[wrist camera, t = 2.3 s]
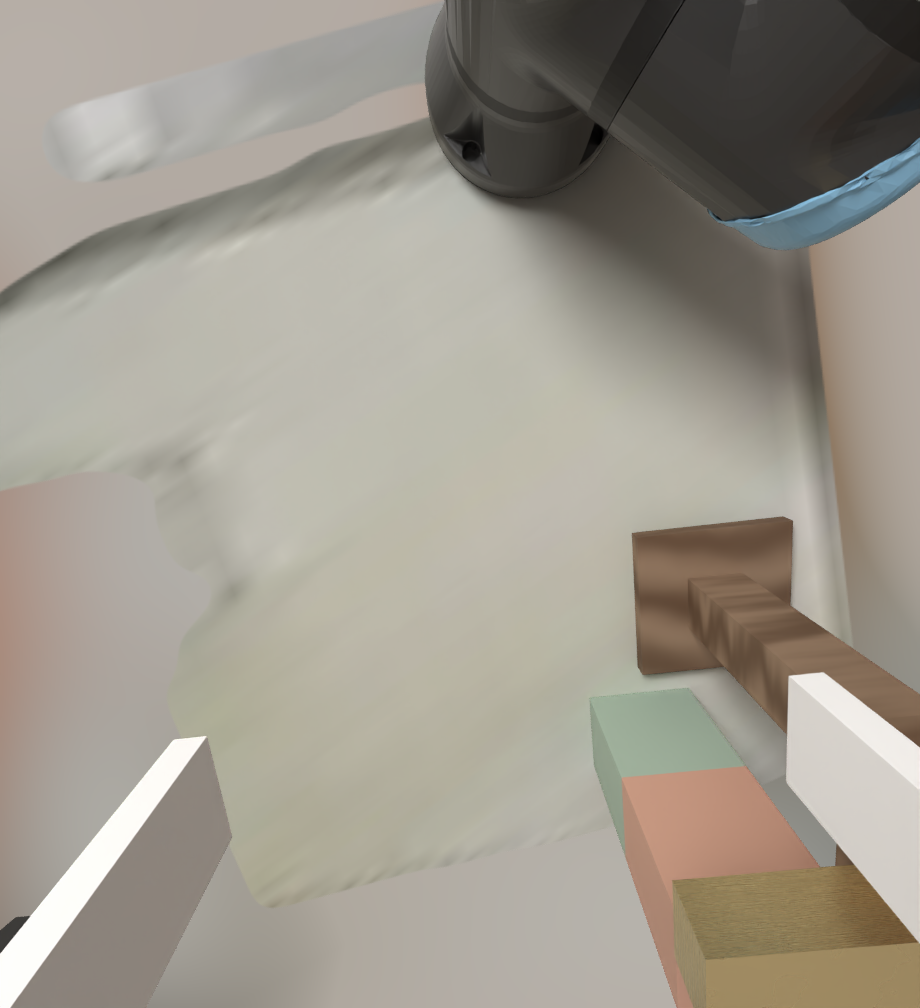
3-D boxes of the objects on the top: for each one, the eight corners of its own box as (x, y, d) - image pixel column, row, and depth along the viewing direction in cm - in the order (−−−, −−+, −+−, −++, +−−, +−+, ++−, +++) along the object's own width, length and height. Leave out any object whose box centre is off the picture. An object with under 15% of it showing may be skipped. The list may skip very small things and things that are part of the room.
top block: (621, 777, 42) (675, 911, 32) (745, 766, 42) (842, 897, 31) (625, 857, 44) (677, 1010, 33) (745, 847, 44) (836, 997, 33)
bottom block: (589, 697, 53) (621, 777, 42) (688, 687, 53) (745, 766, 42) (594, 764, 55) (625, 857, 44) (689, 755, 55) (745, 847, 44)
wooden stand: (632, 533, 49) (881, 755, 20) (782, 516, 49) (1265, 719, 19) (637, 666, 52) (859, 1028, 23) (779, 652, 52) (1189, 1002, 23)
